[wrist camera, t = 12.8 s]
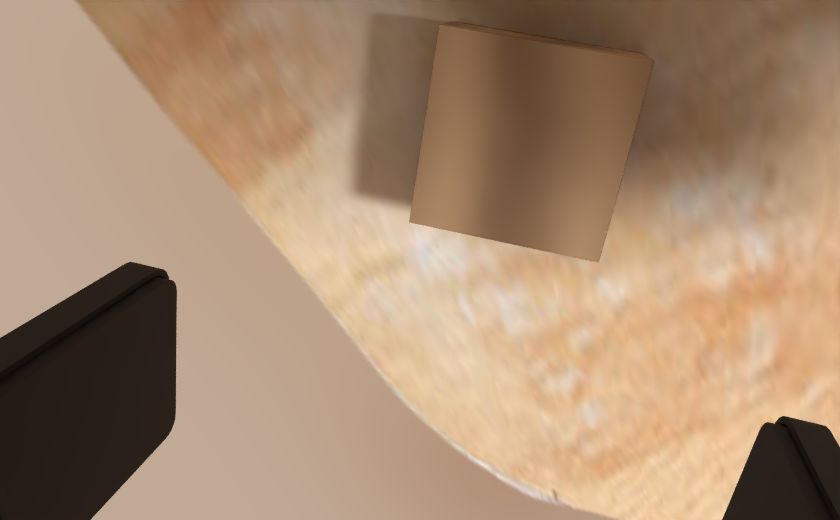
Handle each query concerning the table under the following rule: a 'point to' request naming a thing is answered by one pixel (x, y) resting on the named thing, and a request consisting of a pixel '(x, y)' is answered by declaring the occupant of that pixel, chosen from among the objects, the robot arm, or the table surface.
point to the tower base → (526, 138)
